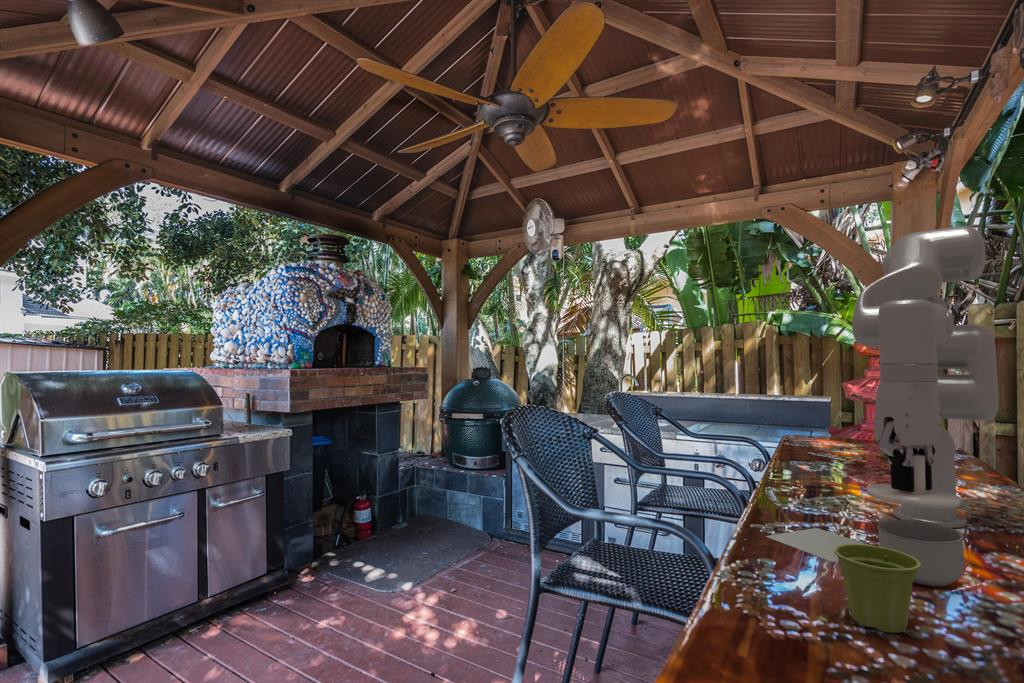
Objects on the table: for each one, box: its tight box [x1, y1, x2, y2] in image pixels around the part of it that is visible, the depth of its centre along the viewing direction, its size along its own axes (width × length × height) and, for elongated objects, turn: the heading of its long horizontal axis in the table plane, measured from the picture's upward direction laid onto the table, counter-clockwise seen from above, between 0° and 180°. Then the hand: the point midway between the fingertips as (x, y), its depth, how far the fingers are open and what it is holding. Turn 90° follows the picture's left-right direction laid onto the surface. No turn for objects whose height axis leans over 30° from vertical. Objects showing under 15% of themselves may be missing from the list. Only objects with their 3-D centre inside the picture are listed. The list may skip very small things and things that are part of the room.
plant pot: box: [834, 544, 921, 634], centre depth 69 cm, size 9×9×9 cm
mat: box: [765, 527, 869, 563], centre depth 97 cm, size 14×14×1 cm
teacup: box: [876, 516, 965, 587], centre depth 84 cm, size 14×11×8 cm
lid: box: [866, 453, 961, 509], centre depth 84 cm, size 12×12×7 cm
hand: (911, 488), depth 84 cm, fingers closed on lid, 3 cm apart
